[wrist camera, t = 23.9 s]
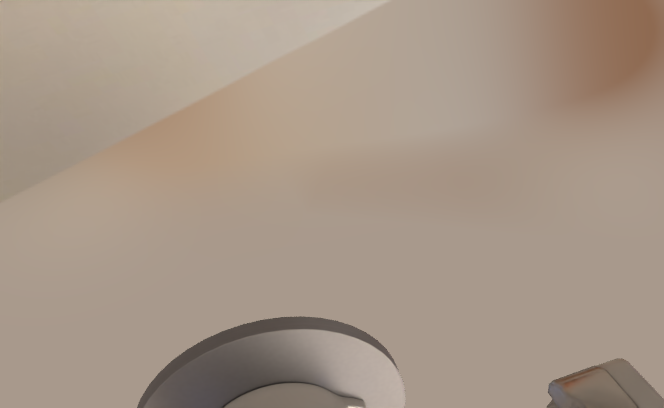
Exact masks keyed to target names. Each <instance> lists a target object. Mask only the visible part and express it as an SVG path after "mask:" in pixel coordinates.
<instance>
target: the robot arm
mask: <svg viewBox="0 0 664 408" xmlns="http://www.w3.org/2000/svg"><path fill="white" fill-rule="evenodd" d="M548 393H549V395H550V396H551V397H552V401H551V402H550V403H549V404H548V406H547V408H664V399H663V398H662V397H661V396H660V395H659V394H658V393H657V392H656V391H655V389H654V388H653V387H652V386H651V385H650V384H649V383H648V382H647V381H646V380H645V379H644V378H643V377H642V376H641V375H640V374H639V373H638V371H637V370H636V369H635V368H634V367H633V366H632V365H631V364H630V363H629V362H628V361H626V360H624V359H614V360H612V361H609V362H606V363H603V364H600V365H597V366H592V367H590V368H587V369H584V370H581V371H579V372H576V373H573V374H570V375H567V376H565V377H562V378H559V379H556V380H553V381H552V382H551V383H550V384H549V389H548ZM223 408H366V403H365V402H364V401H363V400H361V399H356V398H349V397H341V396H338V395H336V394H334V393H332V392H330V391H329V390H327V389H324V388H322V387H319V386H316V385H312V384H306V383H281V384H274V385H269V386H265V387H262V388H259V389H256V390H253V391H250V392H248V393H246V394H244V395H242V396H240V397H238V398H236V399H235V400H233V401H231V402H230V403H229V404H227V405H226V406H225V407H223Z"/></svg>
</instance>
